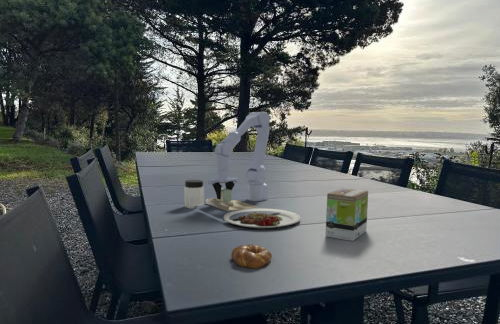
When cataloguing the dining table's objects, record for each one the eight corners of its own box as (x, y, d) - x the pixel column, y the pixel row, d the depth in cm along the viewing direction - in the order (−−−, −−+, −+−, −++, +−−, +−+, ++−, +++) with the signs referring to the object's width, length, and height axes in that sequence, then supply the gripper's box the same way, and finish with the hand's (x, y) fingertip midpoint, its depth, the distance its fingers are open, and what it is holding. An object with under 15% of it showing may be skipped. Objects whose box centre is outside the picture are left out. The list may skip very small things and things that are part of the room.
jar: (207, 207, 170) (207, 181, 169) (191, 209, 165) (191, 182, 164) (196, 204, 177) (196, 179, 176) (181, 206, 172) (181, 180, 171)
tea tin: (224, 200, 176) (224, 187, 175) (231, 203, 170) (231, 190, 170) (216, 201, 174) (216, 188, 173) (223, 203, 168) (223, 190, 167)
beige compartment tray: (235, 201, 183) (235, 195, 182) (258, 209, 166) (258, 202, 166) (206, 205, 174) (206, 199, 174) (226, 213, 157) (226, 206, 157)
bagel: (275, 269, 95) (275, 255, 94) (232, 270, 94) (232, 256, 93) (268, 254, 107) (268, 241, 106) (230, 254, 106) (230, 242, 105)
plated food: (260, 209, 167) (260, 202, 166) (316, 221, 145) (316, 212, 145) (207, 220, 146) (207, 212, 145) (263, 236, 124) (263, 226, 124)
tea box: (354, 242, 118) (356, 195, 116) (324, 237, 123) (325, 193, 122) (367, 231, 130) (368, 189, 129) (339, 227, 136) (340, 187, 134)
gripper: (213, 170, 164) (213, 201, 165) (241, 169, 171) (241, 198, 173) (206, 169, 170) (206, 198, 171) (233, 167, 177) (233, 196, 179)
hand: (223, 198), depth 172 cm, fingers closed on tea tin, 4 cm apart
